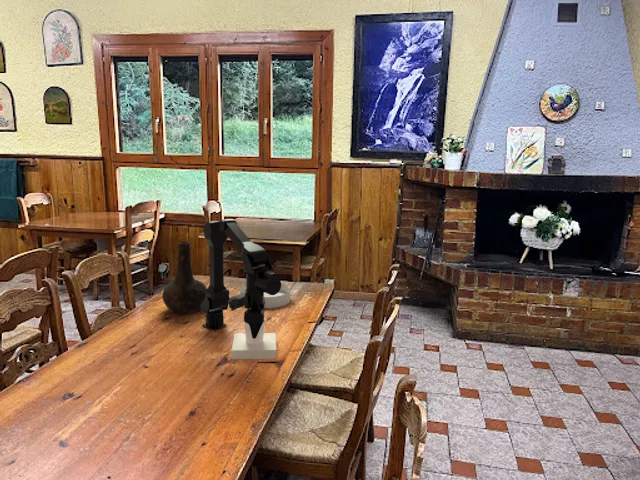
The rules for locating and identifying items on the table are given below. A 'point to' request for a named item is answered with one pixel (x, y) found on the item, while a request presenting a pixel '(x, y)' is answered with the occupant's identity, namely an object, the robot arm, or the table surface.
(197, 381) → the table surface
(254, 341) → the white cup
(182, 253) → the glass bottle
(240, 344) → the base block
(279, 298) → the dish
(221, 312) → the robot arm
